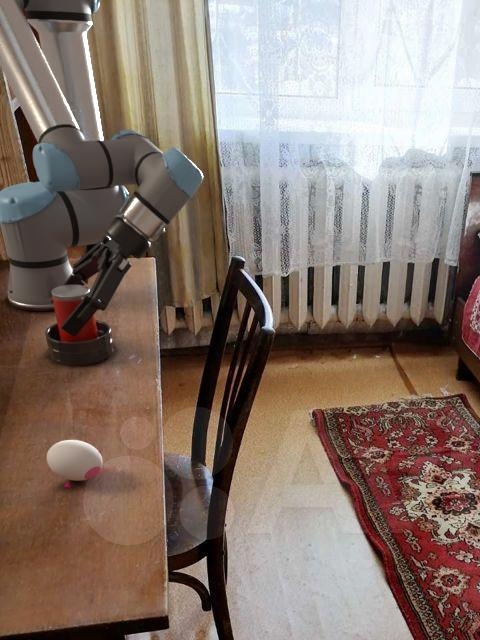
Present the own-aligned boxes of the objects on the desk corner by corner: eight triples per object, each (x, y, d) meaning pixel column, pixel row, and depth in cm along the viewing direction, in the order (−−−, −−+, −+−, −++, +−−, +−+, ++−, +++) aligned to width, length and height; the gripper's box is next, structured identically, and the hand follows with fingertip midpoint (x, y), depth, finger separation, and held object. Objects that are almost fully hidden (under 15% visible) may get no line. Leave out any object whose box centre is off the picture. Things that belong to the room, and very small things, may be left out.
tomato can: (74, 340, 129) (63, 282, 122) (106, 344, 128) (96, 286, 122) (56, 354, 124) (43, 294, 117) (89, 358, 123) (78, 298, 116)
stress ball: (111, 492, 97) (120, 447, 97) (83, 493, 89) (93, 444, 89) (63, 481, 98) (72, 437, 97) (31, 481, 90) (40, 433, 89)
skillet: (69, 337, 131) (65, 315, 129) (124, 344, 130) (120, 323, 128) (37, 361, 122) (32, 338, 119) (96, 369, 121) (91, 346, 118)
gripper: (169, 263, 112) (91, 356, 115) (136, 224, 130) (69, 306, 132) (133, 233, 107) (52, 332, 110) (104, 197, 125) (35, 283, 127)
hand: (62, 318), depth 121 cm, fingers open, 13 cm apart
